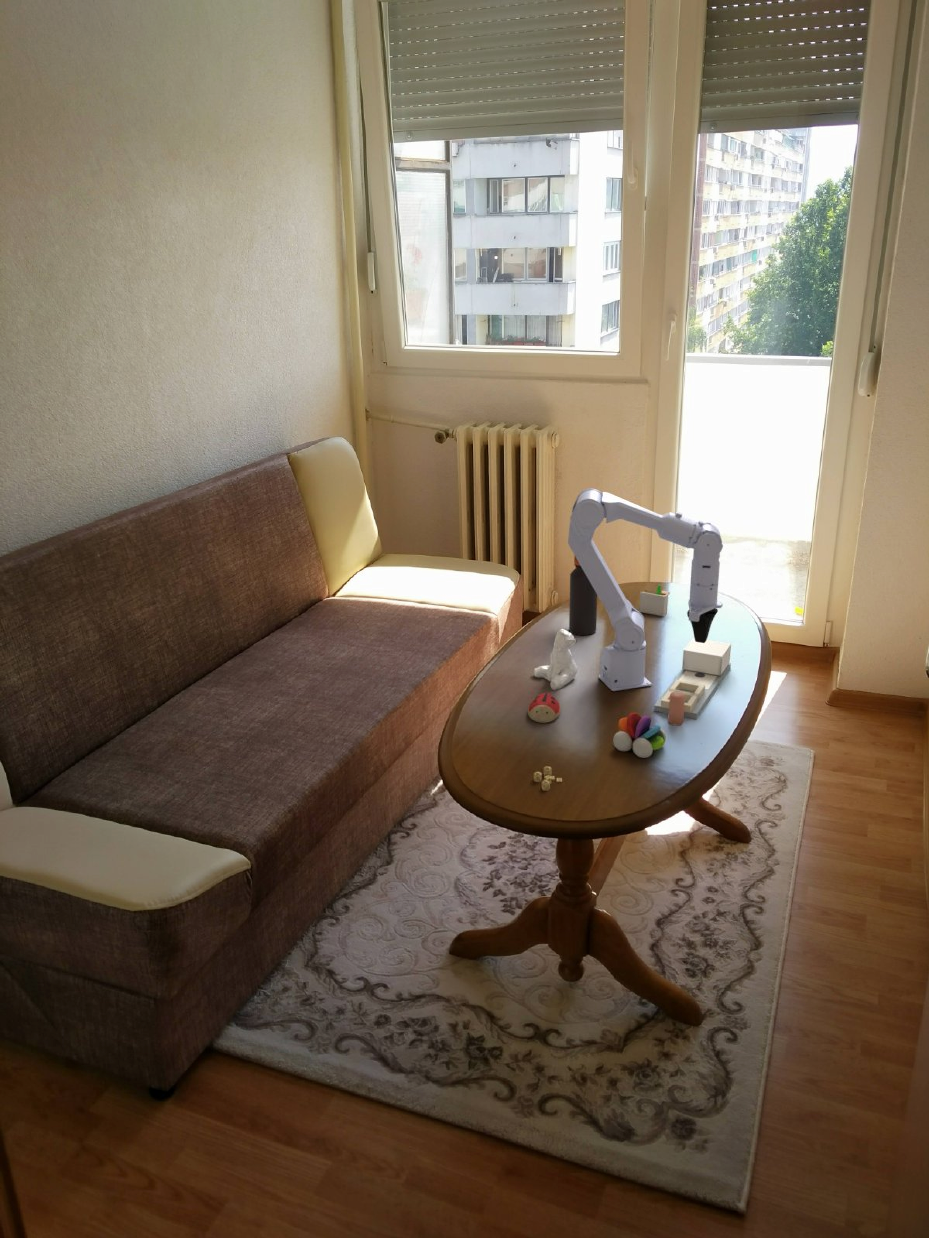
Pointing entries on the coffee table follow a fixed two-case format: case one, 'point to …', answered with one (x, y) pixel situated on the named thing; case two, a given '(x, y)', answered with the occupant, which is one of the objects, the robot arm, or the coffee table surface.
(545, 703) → the ladybug figurine
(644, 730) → the rainbow fan toy
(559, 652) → the white creature statuette
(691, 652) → the block
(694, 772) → the coffee table surface
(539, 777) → the dice set
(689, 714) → the board
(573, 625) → the bottle
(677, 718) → the peg
